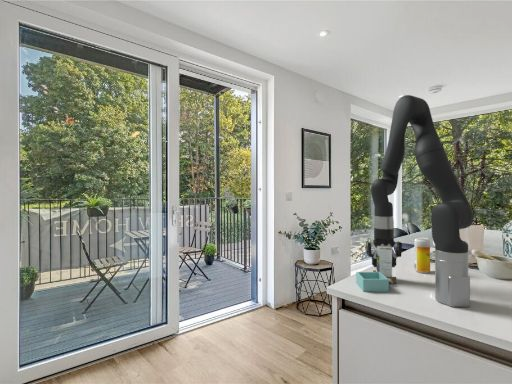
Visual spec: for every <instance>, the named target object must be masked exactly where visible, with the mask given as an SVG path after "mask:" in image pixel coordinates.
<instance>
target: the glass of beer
mask: <svg viewBox="0 0 512 384" xmlns="http://www.w3.org/2000/svg"><path fill="white" fill-rule="evenodd" d="M413 245H414V251H413V252H414V253H413V254H414V255H413V257H414V259H413V260H414V264H413V265H414V271H415V272H416V273H419V274H426V275H427V274H429V273H430V272H431V241H430V238H429V237H421V236H419V237H418V236H417V237H415V239H414V243H413Z"/></svg>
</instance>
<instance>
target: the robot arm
mask: <svg viewBox="0 0 512 384" xmlns="http://www.w3.org/2000/svg"><path fill="white" fill-rule="evenodd" d="M391 118H392V119H391V124H390V131H389V137H388V142H387V146H386V150H385V153H384V156H383V159H382V161H381V165H380V170H381V172H382V178H377V179H374V180H373V181H372V183H371V187H370V193H371V197H372V198H371V199H372V202H373V205H374V209H373V210H374V213H373V214H374V217H373V241H366V243H365V247H366V248H365V249H366V255H367V256H368V257H370V258H371V265H372V267H374V268H376V267H377V259H376V257H377V246H384V245H386V246H392V268H396V266H397V258H401V257H402V254H403V253H402V252H403V251H402V249H403V243H402V242H401V241H395V240H394V239H395V225H394V224H395V222H394V206H393V203H392V202H391V201H390V200H389V196H390V195H393V193H395V191H396V190H397V186H398V182H399V172H400V170H401V167H402V164H403V160H404V158H405V152H406V144H405V142H406V141H405V138H406V130H407V127H408V125H409V124H410V126H411V128H412V131H413V133H414V137H415V143H414V144H415V145H414V158H415V161H416V163H417V166H418V168H419V171H420V172H421V174H422V176H423V177H424V178H425V179H426V180H427V181H428V183H430V184H431V185H432V186H433V187H434V188H435V190H436V191H437V193H438V195H439V196H440V199H441V201H442V202H440V203H437V204H435V206H434V207H433V208H432V211H431V215H430V224H431V225H430V226H431V238H432V241H433V243H434V280H435V281H434V288H435V290H434V294H435V296H434V297H435V300H436V301H437V302H439V303H440V304H443V305H446V306H448V307H452V308H453V307H455V308H456V307H458V308H459V307H462V308H463V307H464V308H465V307H466V308H469V307H471V278H470V277H469V244H468V242H467V241H465V240H462V239H461V234H460V230H462V229H463V230H464V229H468V228H469V227H470V226H471V225H472V224H473V222H474V219H475V218H474V215H475V214H474V211H473V209H472V206H471V204H470V203H469V201H468V199H467V197H466V196H465V194H464V192H463V191H462V188H461V187H460V184H459V183H458V180H457V178H456V176H455V173H454V171H453V168H452V165H451V163H450V160H449V157H448V155H447V153H446V150H445V148H444V146H443V144H442V142H441V139H440V136H439V134H438V132H437V130H436V127H435V125H434V121H433V117H432V113H431V109H430V107H429V104H428V102H427V101H426V100H425V99H424V98H420V97H417V96H414V95H410V94H407V95H403V96H401V97H400V98H398V100H397V101H396V102H395V105H394V108H393V113H392V117H391ZM373 246H374V249H373V251H372V248H373ZM394 246H395V247H396V249H395V251H394V249H393V247H394Z"/></svg>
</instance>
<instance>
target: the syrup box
mask: <svg viewBox="0 0 512 384" xmlns="http://www.w3.org/2000/svg"><path fill="white" fill-rule="evenodd" d="M392 249H393V247H392V246H386V245H384V246H377V257H376V259H377V267H375V268H376V272H380V273H381V274H383V275H384V276H385V277H393V267H392Z"/></svg>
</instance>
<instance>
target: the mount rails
mask: <svg viewBox="0 0 512 384" xmlns="http://www.w3.org/2000/svg"><path fill="white" fill-rule="evenodd" d="M372 272H376V270H375V269H374V270H373V271H372ZM386 278H388V279H389V284H397V277H396V276H392V277H386Z"/></svg>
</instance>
